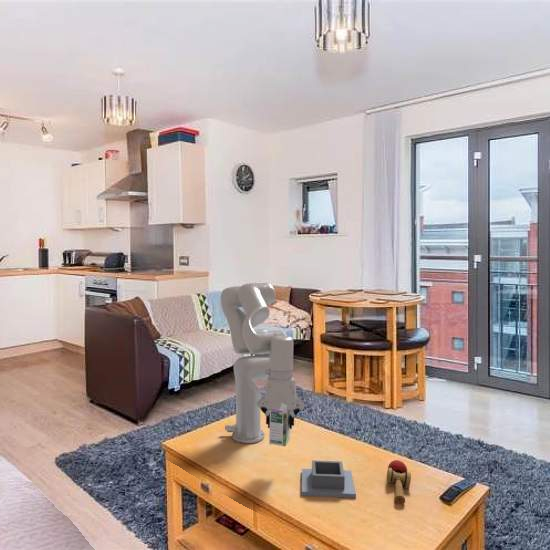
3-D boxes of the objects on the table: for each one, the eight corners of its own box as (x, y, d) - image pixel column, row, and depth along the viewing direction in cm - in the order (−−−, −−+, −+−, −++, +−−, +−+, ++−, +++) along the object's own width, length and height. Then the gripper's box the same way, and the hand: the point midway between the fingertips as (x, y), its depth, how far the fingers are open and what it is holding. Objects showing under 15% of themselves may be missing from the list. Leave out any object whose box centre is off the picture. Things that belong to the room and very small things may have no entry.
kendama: (416, 511, 129) (411, 472, 146) (413, 491, 128) (408, 454, 145) (388, 511, 131) (386, 473, 148) (385, 492, 130) (383, 456, 147)
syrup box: (268, 444, 146) (269, 401, 145) (273, 436, 152) (274, 395, 151) (285, 447, 145) (286, 403, 143) (290, 439, 150) (291, 397, 149)
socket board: (301, 495, 134) (301, 478, 133) (301, 472, 148) (302, 456, 147) (355, 497, 133) (356, 480, 132) (351, 474, 147) (351, 458, 146)
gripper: (253, 376, 143) (252, 430, 145) (307, 378, 142) (306, 433, 144) (255, 369, 151) (255, 421, 152) (307, 371, 149) (306, 423, 151)
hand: (280, 426), depth 148 cm, fingers closed on syrup box, 6 cm apart
